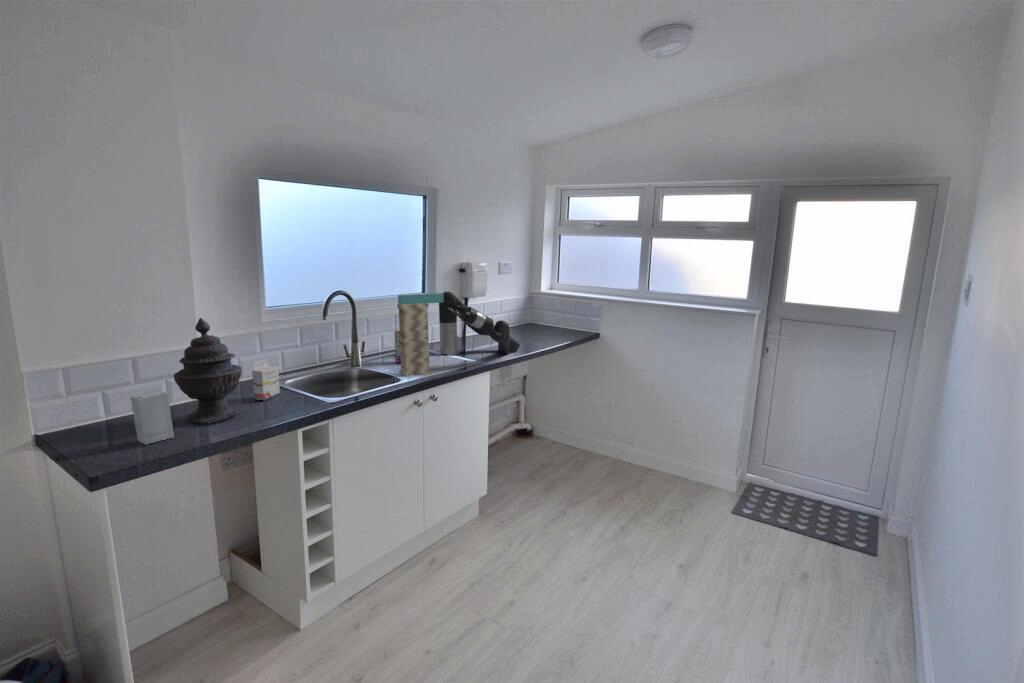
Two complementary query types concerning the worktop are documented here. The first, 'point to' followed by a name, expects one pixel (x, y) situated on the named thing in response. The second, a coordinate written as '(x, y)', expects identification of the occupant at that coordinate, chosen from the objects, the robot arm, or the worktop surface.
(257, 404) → the worktop surface
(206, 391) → the decorative urn
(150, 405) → the skincare box
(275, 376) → the ink cartridge box
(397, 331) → the candy bar box
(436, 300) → the rod
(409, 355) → the beige zigzag patterned block
